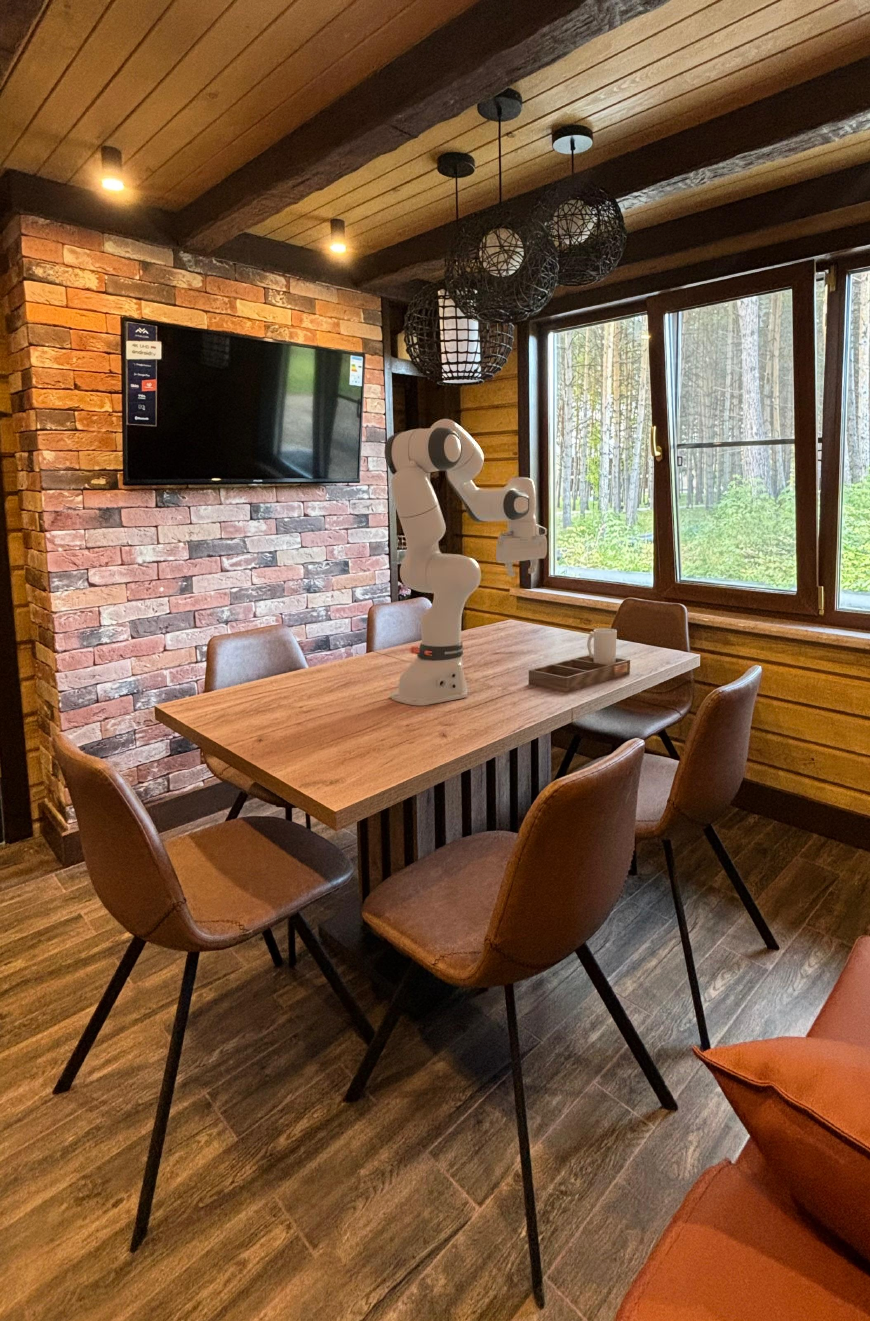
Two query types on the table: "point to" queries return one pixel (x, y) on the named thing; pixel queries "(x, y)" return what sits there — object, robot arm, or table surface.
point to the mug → (603, 646)
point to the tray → (577, 673)
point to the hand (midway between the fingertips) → (521, 575)
